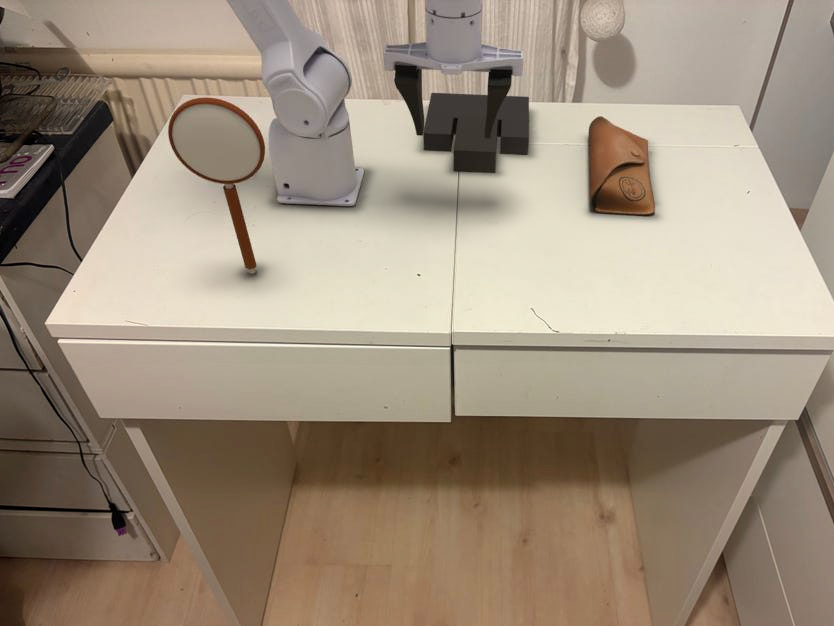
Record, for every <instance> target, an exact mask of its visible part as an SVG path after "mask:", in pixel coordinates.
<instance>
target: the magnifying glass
mask: <svg viewBox="0 0 834 626" xmlns="http://www.w3.org/2000/svg"><path fill="white" fill-rule="evenodd" d="M167 132H168V133H167V135H168V141H169V144H170V147H171V149H172V151H173V153H174V155H175V156H176V158H177V159H178V160H179V162H180V163H181V164H182V166H183V167H185V168H186V169H188V170H189V171H190V172H191V173H193V174H194V175H196V176H197V177H199V178H202V179H204V180H206V181H208V182H210V183H211V182H212V183H215V184H221V185H223V187H222V189H223V193H224V196H225V200H226V203H227V207H228V210H229V214H230V218H231V221H232V224H233V225H232V226H233V229H234V231H235V236H236V239H237V242H238V247H239V249H240V254H241V257H242V261H243V264H244V268H245V269H246V270H248V273H249V274H251V275H252V274H253V275H254V274H255V273H256V272H257V270H256V268H257V262H256V258H255V254H254V250H253V246H252V243H251V239H250V234H249V231H248V227H247V223H246V219H245V215H244V212H243V208H242V205H241V202H240V197H239V193H238V190H237V186H236V184H240V183H242V182H245V181H247V180H249V179H251V178H252V177H254V176H255V175H256V174H257V173H258V172H259V170H260V169H261V167H262V166H263V164H264V161H265V157H266V145H265V144H266V143H265V139H264V136H263V134H262V131H261V130H260V128H259V126H258V124H257V123H256V122H255V121H254V119H253V118H252V117H251V116H250V115H249V114H248V113H247V112H246V111H244V110H243V109H242V108H240V107H239V106H237V105H235V104H233V103H231V102H229V101H227V100H223V99H221V98H215V97H197V98H192V99H189V100H187V101H185V102H183V103H182V104H181V105H179V106H178V107H177V108H176V109H175V110H174V112H173V113H172V115H171V116H170V119H169V122H168V126H167Z"/></svg>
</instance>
